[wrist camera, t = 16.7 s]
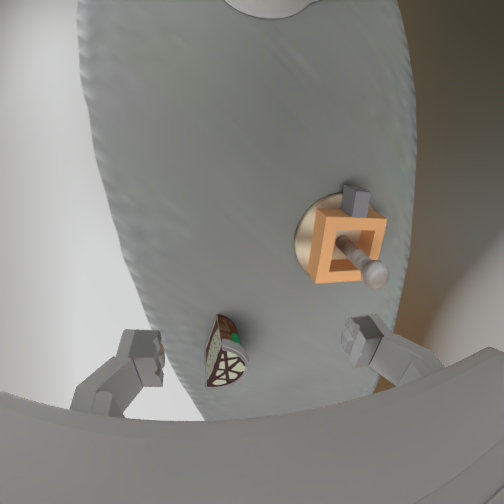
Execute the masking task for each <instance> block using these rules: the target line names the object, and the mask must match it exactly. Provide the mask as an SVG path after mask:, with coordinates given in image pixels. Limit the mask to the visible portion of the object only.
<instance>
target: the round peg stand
mask: <svg viewBox="0 0 504 504" xmlns="http://www.w3.org/2000/svg"><path fill="white" fill-rule="evenodd" d="M342 195H343V193H336V194H331V195H328V196H326V197H324V198H322V199H320V200H318V201H317V202H315V203H314V204H313V205H312V206H311V207H310V208H309V209H308V210H307V211H306V212H305V214H304V215H303V216H302V218H301V220H300V222H299V224H298V226H297V229H296V232H295V237H294V250H295V255H296V257H297V260H298V262H299V263H300V265H301V267H302V268H303V270H304V271H305V272H306V273H307V274H308V275H309V273H308V272H307V268H308V262H309V256H310V250H311V243H312V236H313V229H314V222H315V215H316V208H325V209H340V208H341V202H342ZM368 211H375V210H374V208H373V207H372V206H371V205H370V204H369V207H368ZM360 234H361V230H337V232H336V237H335V243H334V248H333V254H332V259H331V260H336V259H349V260H350V261H351V262H352V263H353V264H354V265H355V266H356V268H357V269H358V270H359V271H360V272H361V280H362V282H363V284H364V285H365V286H366V287H368V288H370V289H379V288H381V287H383V286H384V285H385V284H386V282H387V280H388V277H389V272H388V268H387V266H386V265H385V264H384V263H383V262H381V261H379V260H372V259H371V258H369V257H368V256H367V255H366V254H365V253H364V252H363V251H362V250H361V249H360V248H359V247H358V244H359V239H360ZM309 276H310V275H309Z"/></svg>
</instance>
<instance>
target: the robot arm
mask: <svg viewBox="0 0 504 504" xmlns="http://www.w3.org/2000/svg"><path fill="white" fill-rule="evenodd" d="M225 1H226V2H227V3H228V4H229V5H231V6H232V7H233V8H235V9H237V10H239V11H241V12H243V13H245V14H248V15H251V16H255V17H260V18H284V17H288V16H292V15H294V14H296V13H298V12H300V11H302V10H303V9H304V8H305V7H306V6H307V5H308V4H310V3H311V2H315V1H319V0H225ZM345 326H346V329H345V331H344V332H343V333H342V336H341V344H342V348H343V350H344V352H346V353H348V354H349V357H348V359H349V361H350V362H351V364H352V366H353V368H358V367H363V366H368V365H369V366H370V367H371V368H373V369H374V370H375V371H377V372H378V373H379V374H381V375H383V376H384V377H385V378H386V379H388V380H389V381H390V382H392V383H393V384H395V385H396V387H394V388H391V389H388V390H385V391H382V392H379V393H376V394H372V395H369V396H365V397H362V398H358V399H354V400H350V401H347V402H343V403H338V404H334V405H330V406H325V407H321V408H316V409H311V410H305V411H300V412H294V413H287V414H281V415H273V416H265V417H257V418H247V419H234V420H218V421H156V420H140V419H129V418H125V417H124V415H123V412H124V411H125V409H126V408H127V407H128V406H129V404H130V403H131V402H132V401H133V399H134V398H135V397H136V396H137V394H138V393H139V392H140V391H141V390H142V388H143V387H162V386H163V375H164V374H163V371H162V368H163V367H164V364H165V353H164V347H163V345H162V344H161V334H160V331H159V330H130V329H125V330H124V331H123V334H122V337H121V341H120V344H119V347H118V351H117V355H116V357H112V358H111V359H109V360H108V361H107V362H106V363H105V364H103V365H102V366H101V367H100V368H98V369H97V370H96V371H95V372H94V373H92V374H91V375H90V376H89V377H88V378H86V380H84V381H83V382H82V383H81V384H79V385H78V386H77V387H76V390H75V393H74V396H73V400H72V403H71V406H70V410H68V409H63V408H59V407H55V406H50V405H46V404H43V403H38V402H35V401H32V400H28V399H25V398H21V397H18V396H15V395H13V394H9V393H7V392H0V504H504V352H502V351H499V350H497V349H495V348H492V347H487V348H484V349H482V350H480V351H478V352H476V353H475V354H473V355H471V356H469V357H467V358H465V359H463V360H461V361H459V362H456V363H454V364H452V365H450V366H448V367H446V368H445V367H444V365H443V364H442V363H441V362H440V360H439V359H438V358H437V356H436V355H435V354H434V353H433V352H431V351H429V350H427V349H425V348H423V347H421V346H419V345H417V344H415V343H413V342H411V341H409V340H407V339H405V338H403V337H401V336H399V335H397V334H393V333H392V332H391V330H390V329H389V328H388V327H387V325H386V324H385V323H384V321H383V320H382V319H381V318H380V316H379V315H378V314H371V315H367V316H359V317H353V318H348V319H347V321H346V324H345Z"/></svg>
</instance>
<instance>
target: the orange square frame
mask: <svg viewBox="0 0 504 504" xmlns="http://www.w3.org/2000/svg"><path fill="white" fill-rule="evenodd" d="M370 195H371V192H369V191H367V190H365V189H363V188H361V187H359V186H352V185H344V188H343V195H342V202H341V208H340V209H325V208H316V215H315V222H314V229H313V236H312V243H311V250H310V256H309V262H308V268H307V272H308V273H309V275H310V276H311V278H312V279H313V281H314V283H315V284H316V283H331V282H345V281H358V280H361V272H360V271H359V270H358V269H357V268H356V266H355V265H354V264H353V263H352V262H351V261H350V260H349V259H336V260H331V259H332V254H333V248H334V243H335V237H336V232H337V230H361V234H360V239H359V244H358V247H359V248H360V249H361V250H362V251H363V252H364V253H365V254H366V255H367V256H368V257H369V258H371V259H372V260H378V257H379V253H380V249H381V245H382V241H383V237H384V233H385V228H386V224H387V218H385V217H384V216H382V215H380V214H379V213H377V212H376V211H368V207H369V201H370Z"/></svg>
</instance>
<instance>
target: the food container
mask: <svg viewBox="0 0 504 504" xmlns="http://www.w3.org/2000/svg"><path fill="white" fill-rule="evenodd" d="M248 363H249V358H248V355H247V352H246V351H245V350H244V349H243V348H242V347H241V344H240V340H239V337H238V333H237V330H236V327H235V325H234V323H233V322H232V321H231V320H230V319H228V318H227V317H225V316H222V315H219V314H217V315H216V318H215V321H214V324H213V327H212V330H211V333H210V336H209V339H208V342H207V345H206V348H205V372H206V383H205V388H206V391H219V390H224V389H228V388H231V387H233V386H235V385H237V384H238V383H239V382H241V381H242V380H243V379H244V377H245V375H246V373H247V370H248Z"/></svg>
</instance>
